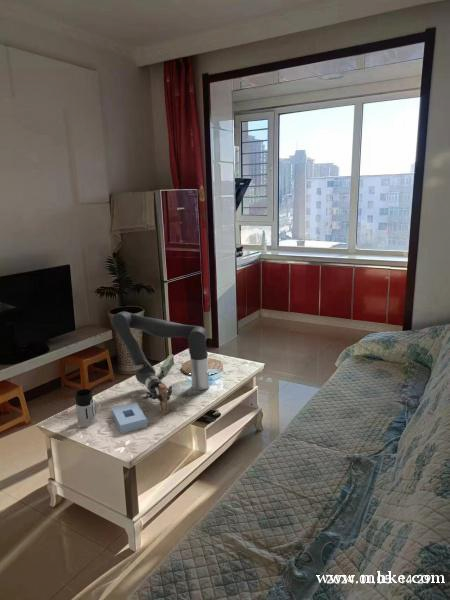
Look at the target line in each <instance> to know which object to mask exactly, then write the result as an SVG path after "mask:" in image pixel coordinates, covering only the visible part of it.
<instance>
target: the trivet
mask: <svg viewBox="0 0 450 600" xmlns="http://www.w3.org/2000/svg"><path fill="white" fill-rule="evenodd" d="M208 369H217V370H218V371H219V370H221V371H220V372H222V371H223V369H224V364H223V362H222V361H221V360H219V359H216V358H212V357H208ZM181 372H182V373H183V374H185V375H187V374H189V373H191V359H189V360H187V361H185V362H183V363H182V365H181Z"/></svg>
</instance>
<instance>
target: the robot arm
mask: <svg viewBox="0 0 450 600" xmlns="http://www.w3.org/2000/svg"><path fill="white" fill-rule="evenodd" d="M111 323H112V326H113V328H114V330H115V331H116V333H117V334H118V336H119V337H120V339H121V340H122V342H123V345H124V346H125V348H126V350H127V352H128V354H129V356H130V359H131V361H132V363H133V365H134V366H141V365H144V367H142V368H140V369H138V370H136V372H135V379H136V380H137V381H138V382H139V383H140V384H143V385H144V386H146V387H145V388H146V389H147V390H148V391H146V392H145V393H146V398H149V399H152V400H154V401H155V400H159V402H160V401H161V402H163V397H162V396H161V395H160V394H159V384H161V383H163V382H162V381H161V380H160V379H159V378H160V377H157V376H156V375H157V374H156V369H155V367H153V366H152V365H151V363H150V362H149V360H148V359H147V358H146V355H145V352H143V349H142V346H140V344H139V342H138V341H137V340H136V338H135V337H134V336H133V334H132V332H131V329H136V330H141V331H142V332H145V333H147V334H149V335H151V336H154V337H158V338H166V339H170V338H171V339H172V338H184V339H187V340H188V352H189V357H190V359H189V360H191V388H192V389H193V390H195V391H204V390H208V389H210V376H209V372H208V358H209V356H208V351H207V339H208V336H209V333H208V330H207V329H206V328H204V327H203V326H200V325H199V326H198V325H189V324H182V323H180V322H179V323H178V322H174V321H169V320H165V319H160V318H154V317H148V316H142V315H137V314H134V313H132V312H128V311H120V312H118V313H116V314H114V315H113V316H112V318H111ZM172 393H173V386H172V385H169V387H168V386H167V400H168V401H169V400H170V397H171V396H172Z"/></svg>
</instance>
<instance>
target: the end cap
mask: <svg viewBox="0 0 450 600" xmlns="http://www.w3.org/2000/svg"><path fill="white" fill-rule="evenodd" d="M111 415H112V417H113V420H114V422H115V424H116V426H117V428H118V430H119V432H120V434H125V433H129V432H132V431H135V430H139V429H140V430H141V429H143V428H147V427H148V418H147V417H146V415H145V414H144V412H143V410H142V409H141V408H140V406H139V405H138V402H133V403H132V402H131V403H128V404H127V403H126V404H123V405H120V406H115V407H111Z"/></svg>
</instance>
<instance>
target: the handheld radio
mask: <svg viewBox="0 0 450 600" xmlns="http://www.w3.org/2000/svg"><path fill="white" fill-rule="evenodd" d="M174 365H175V357H174V354H169V355H168V356H167V358H166V359H165V360H164V361H163V363H162V364H161V365H160V376H159V377H158V378H159V379H160V381H161V380H162V379H163V378H165V377H166V376H167V375H168V373H169V372H170V370H171V369H172V368H173V366H174Z"/></svg>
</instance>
